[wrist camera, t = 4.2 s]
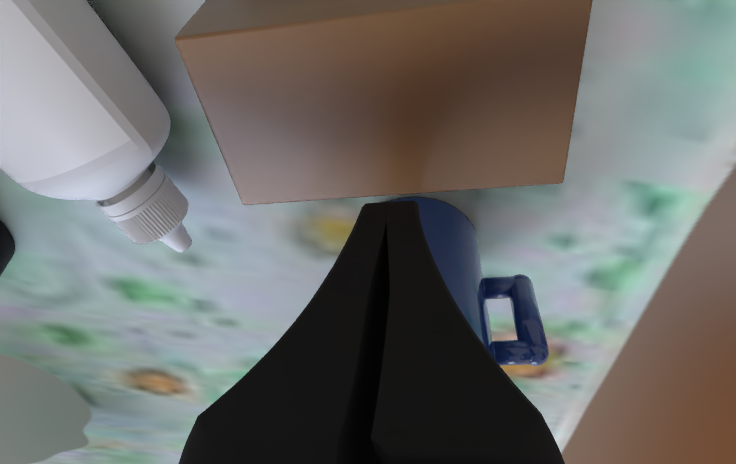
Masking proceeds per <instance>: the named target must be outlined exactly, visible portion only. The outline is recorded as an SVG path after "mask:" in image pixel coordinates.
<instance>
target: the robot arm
mask: <svg viewBox="0 0 736 464" xmlns="http://www.w3.org/2000/svg"><path fill="white" fill-rule="evenodd" d="M179 464H565V463H564V461H563V458H562V455H561V453H560V450H559V448H558V446H557V444H556V441H555V439H554V437H553V435H552V433H551V431H550V429H549V428H548V426H547V424H546V422H545V420H544V418H543V416H542V414H541V413H540V412H539V410H538V409H537V408H536V407H535V406H534V405H533V404H532V403H531V402H530V401H529V400H528V399H527V397H526V396H525V395H524V394H523V393H522V392H521V391H520V390H519V388H518V387H517V386H516V385H515V384H514V383H513V382H512V380H511V379H510V378H509V377H508V375H507V374H506V373H505V372H504V371H503V369H502V368H501V367H500V366H499V365H498V363H497V362H496V361H495V359H494V358H493V357H492V355H491V354H490V353H489V351H488V350H487V348H486V347H485V346H484V344H483V343H482V342H481V340H480V339H479V338H478V336H477V335H476V334H475V332H474V331H473V329H472V328H471V326H470V324H469V323H468V321H467V320H466V318H465V317H464V315H463V314H462V312H461V310H460V309H459V307H458V305H457V304H456V302H455V300H454V299H453V297H452V295H451V293H450V291H449V290H448V288H447V286H446V284H445V282H444V280H443V278H442V276H441V274H440V272H439V270H438V268H437V265H436V263H435V261H434V258H433V256H432V254H431V251H430V249H429V246H428V244H427V241H426V238H425V235H424V232H423V229H422V225H421V221H420V216H419V206H418V203H416V202H415V201H414V200H413V201H398V202H383V203H368V204H365V205H364V206H363V207H362V209H361V211H360V214H359V216H358V219H357V221H356V223H355V225H354V228H353V230H352V232H351V234H350V236H349V238H348V240H347V242H346V244H345V246H344V247H343V249H342V251H341V253H340V255H339V256H338V258H337V260H336V262H335V264H334V265H333V267H332V269H331V270H330V272H329V273H328V275H327V277H326V278H325V280H324V281H323V283H322V284H321V286H320V288H319V289H318V291H317V292H316V294H315V295H314V296H313V298H312V299H311V301H310V302H309V303H308V305H307V306H306V308H305V309H304V310H303V312H302V313H301V314H300V315H299V317H298V318H297V319H296V321H295V322H294V323H293V324H292V325H291V327H290V328H289V329H288V330H287V331H286V332H285V334H284V335H283V336H282V337H281V338H280V340H279V341H278V342H277V343H276V344H275V345H274V346H273V347H272V348H271V349H270V351H269V352H268V353H267V354H266V355H265V356H264V357H263V358H262V359H261V360H260V361H259V362H258V363H257V364H256V365H255V366H254V367H253V368H252V369H251V370H250V371H249V372H248V373H247V374H246V375H245V376H244V377H243V378H242V379H241V380H239V381H238V382H237V383H236V384H235V385H234V386H233V387H232V388H231V389H229V390H228V391H227V392H226V393H225V394H224V395H222V396H221V397H220V398H219V399H218V400H217V401H215V402H214V403H213V404H212V405H211V406H210V407H208V408H207V409H206V410H205V411H204V412H202V413H201V414H200V415H199V416H198V417H197V419H196V422H195V424H194V426H193V428H192V430H191V432H190V434H189V437H188V439H187V441H186V444H185V446H184V449H183V452H182V455H181V458H180V461H179Z"/></svg>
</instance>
